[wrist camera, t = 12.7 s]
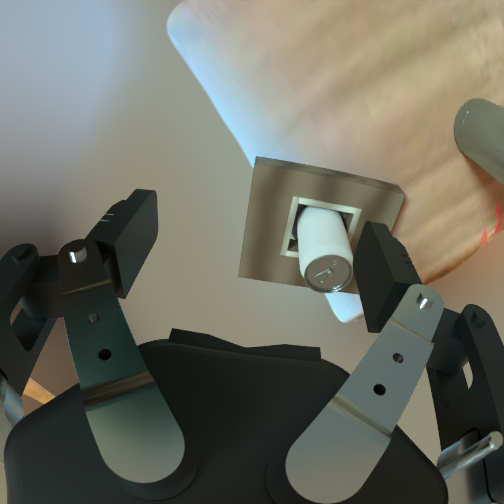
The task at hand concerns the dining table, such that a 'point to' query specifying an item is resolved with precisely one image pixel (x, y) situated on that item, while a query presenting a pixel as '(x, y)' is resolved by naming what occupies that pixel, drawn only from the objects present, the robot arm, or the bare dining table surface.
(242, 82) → the dining table surface
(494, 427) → the robot arm
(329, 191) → the socket board
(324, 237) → the can
